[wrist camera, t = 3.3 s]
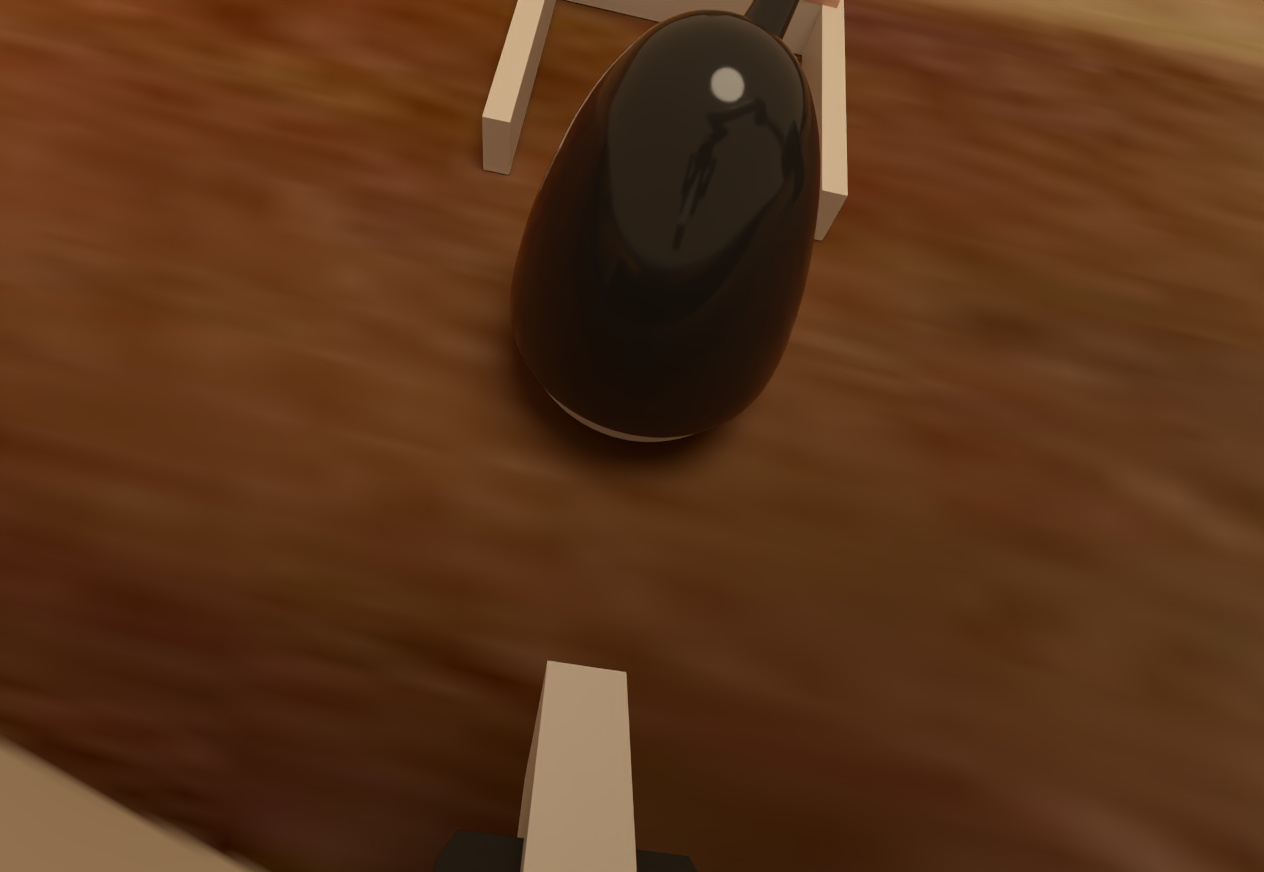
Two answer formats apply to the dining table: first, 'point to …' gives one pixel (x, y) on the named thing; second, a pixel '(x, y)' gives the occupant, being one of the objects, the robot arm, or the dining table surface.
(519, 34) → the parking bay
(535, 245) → the black tall rounded piece
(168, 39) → the dining table surface
